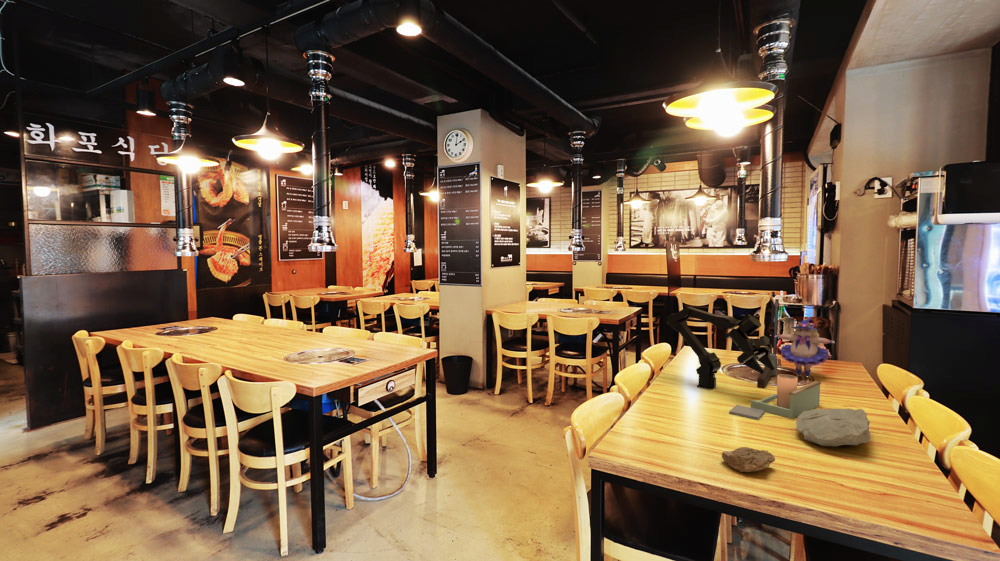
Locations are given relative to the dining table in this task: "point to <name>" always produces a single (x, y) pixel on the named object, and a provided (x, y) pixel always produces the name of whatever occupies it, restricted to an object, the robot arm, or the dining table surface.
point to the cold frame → (793, 401)
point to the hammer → (767, 372)
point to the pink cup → (785, 389)
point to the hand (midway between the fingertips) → (768, 371)
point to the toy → (804, 347)
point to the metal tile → (747, 412)
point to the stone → (834, 426)
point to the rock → (748, 459)
